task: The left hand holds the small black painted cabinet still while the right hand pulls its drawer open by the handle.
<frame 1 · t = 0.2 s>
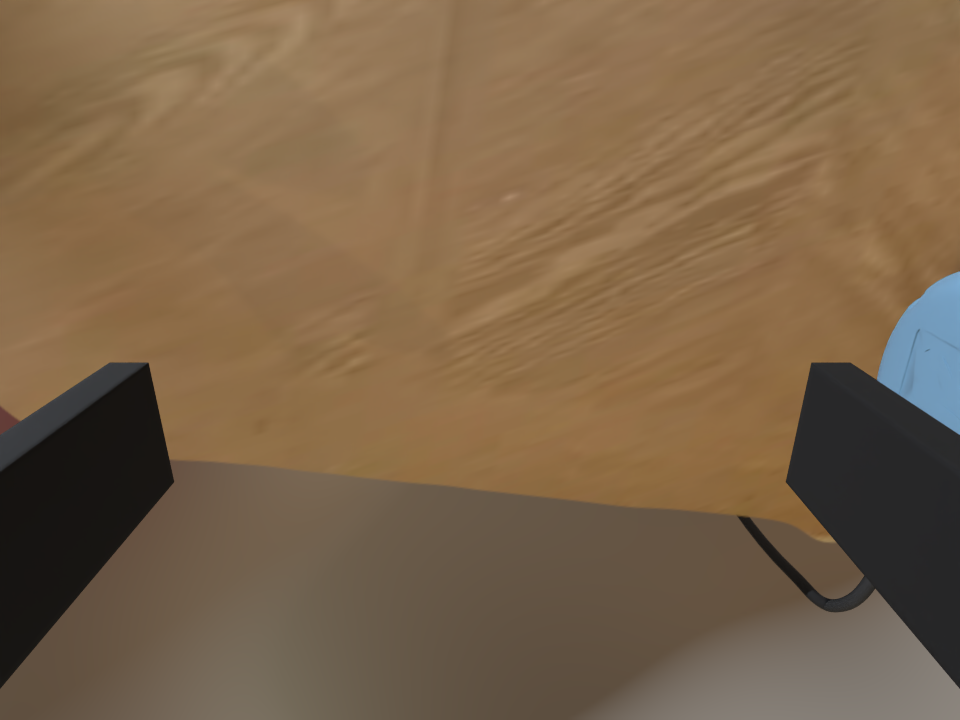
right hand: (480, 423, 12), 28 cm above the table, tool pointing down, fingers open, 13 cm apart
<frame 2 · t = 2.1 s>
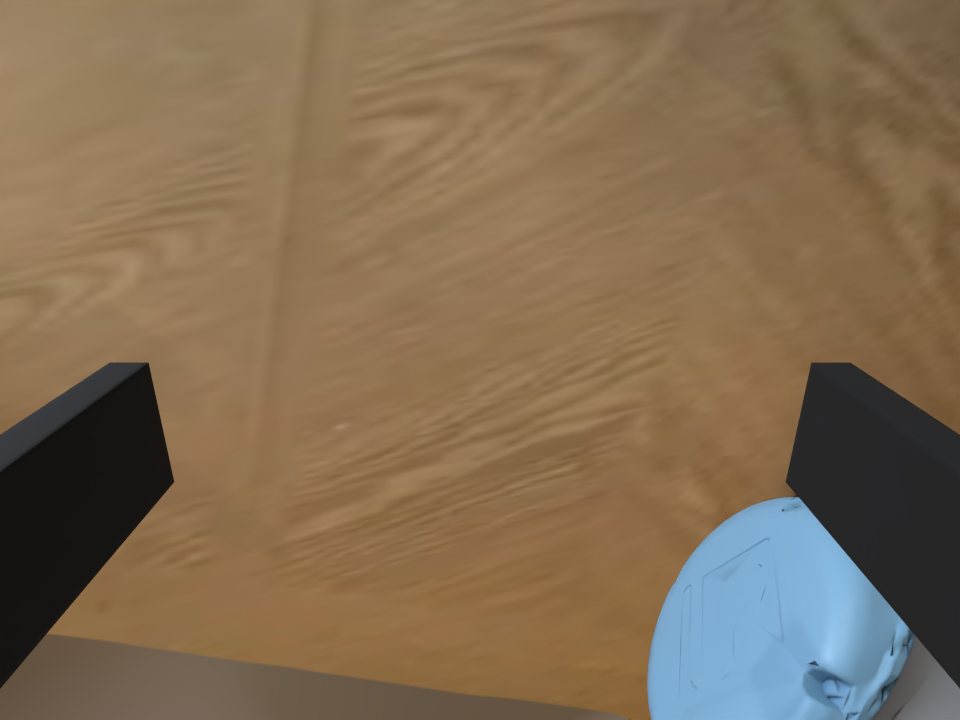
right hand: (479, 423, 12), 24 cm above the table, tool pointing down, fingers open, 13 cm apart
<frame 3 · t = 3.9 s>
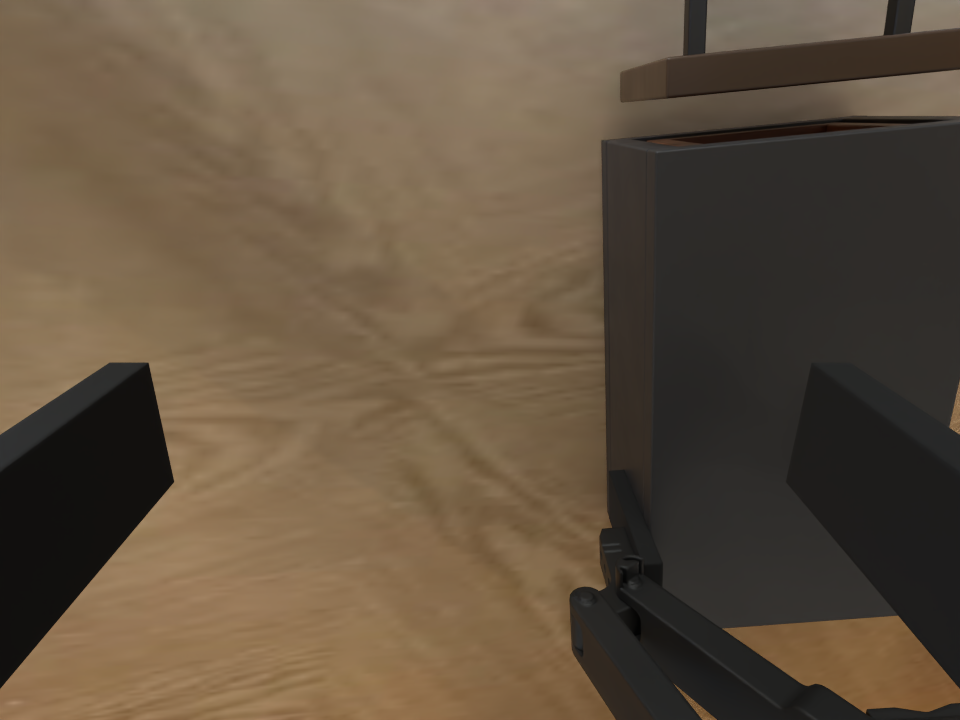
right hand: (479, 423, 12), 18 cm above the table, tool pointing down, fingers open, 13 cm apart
cabinet: (715, 338, 31), on the table, touching left hand
drawer: (763, 233, 25), point 4 cm above the table, slide at 1.5 cm
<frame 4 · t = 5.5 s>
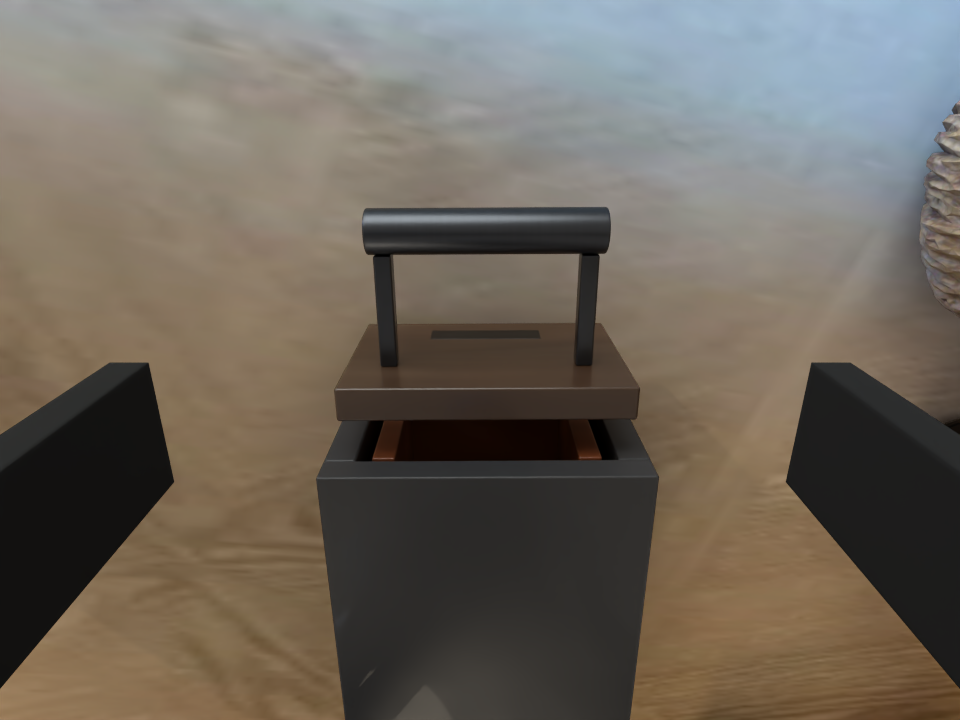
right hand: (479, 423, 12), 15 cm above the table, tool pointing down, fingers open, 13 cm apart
cabinet: (485, 549, 32), on the table, touching left hand
drawer: (486, 499, 25), point 4 cm above the table, slide at 1.5 cm
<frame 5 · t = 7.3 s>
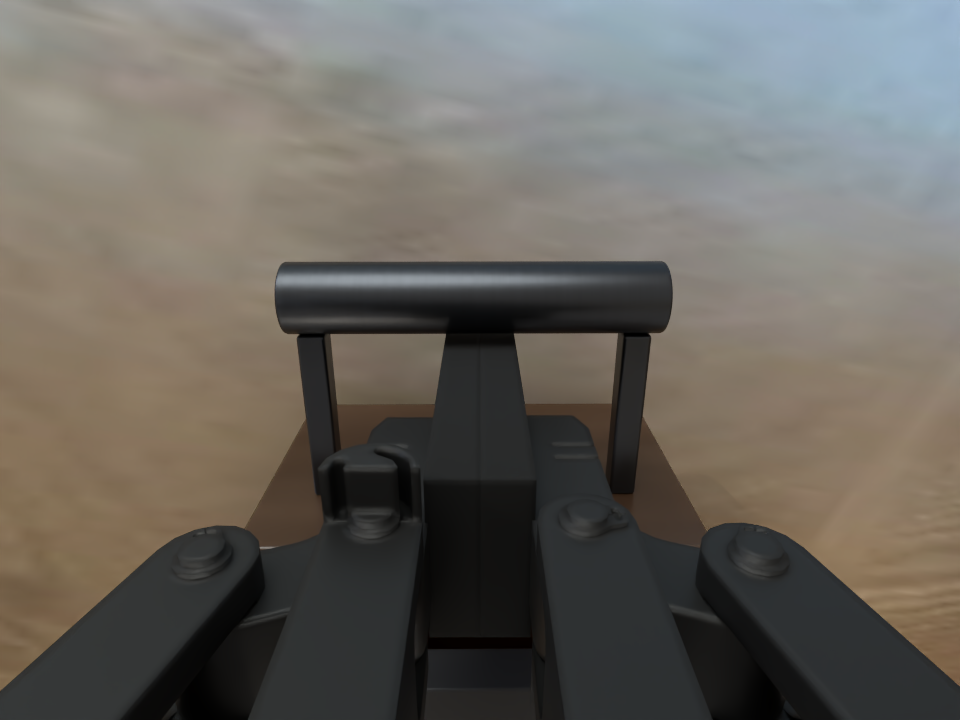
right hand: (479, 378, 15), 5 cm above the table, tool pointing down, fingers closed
cabinet: (475, 678, 25), on the table, touching left hand
drawer: (475, 653, 18), point 4 cm above the table, slide at 1.6 cm
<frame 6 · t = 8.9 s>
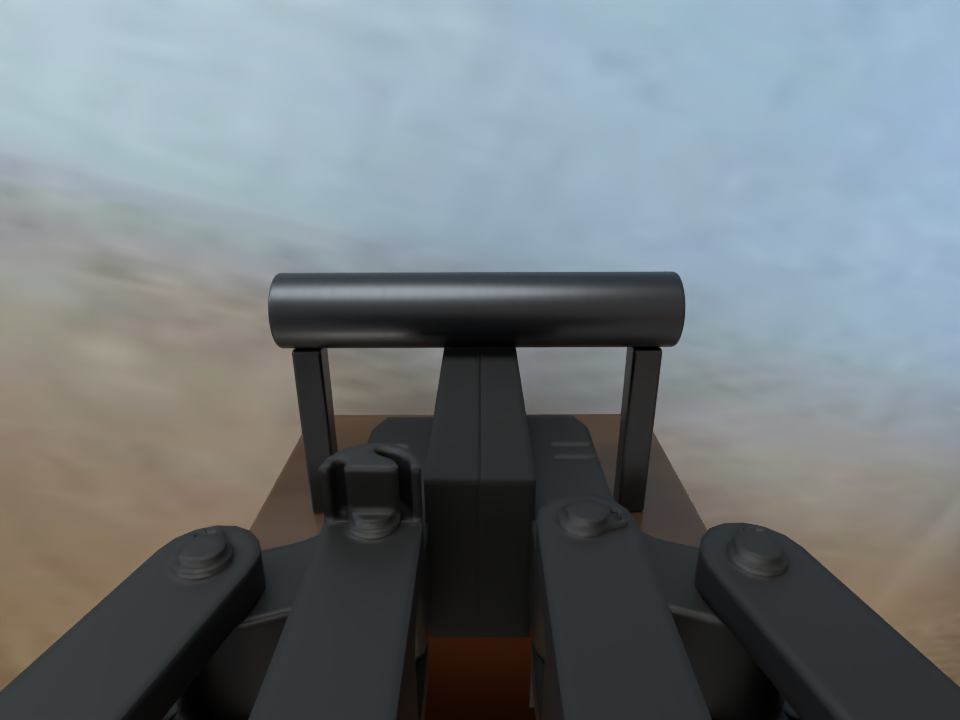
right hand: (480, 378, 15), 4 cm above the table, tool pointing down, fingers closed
drawer: (478, 671, 18), point 4 cm above the table, slide at 8.3 cm, touching right hand
when the left hand's fingers open (4 cm above the table, at t = 10.9 s): cabinet stays where it is, on the table.
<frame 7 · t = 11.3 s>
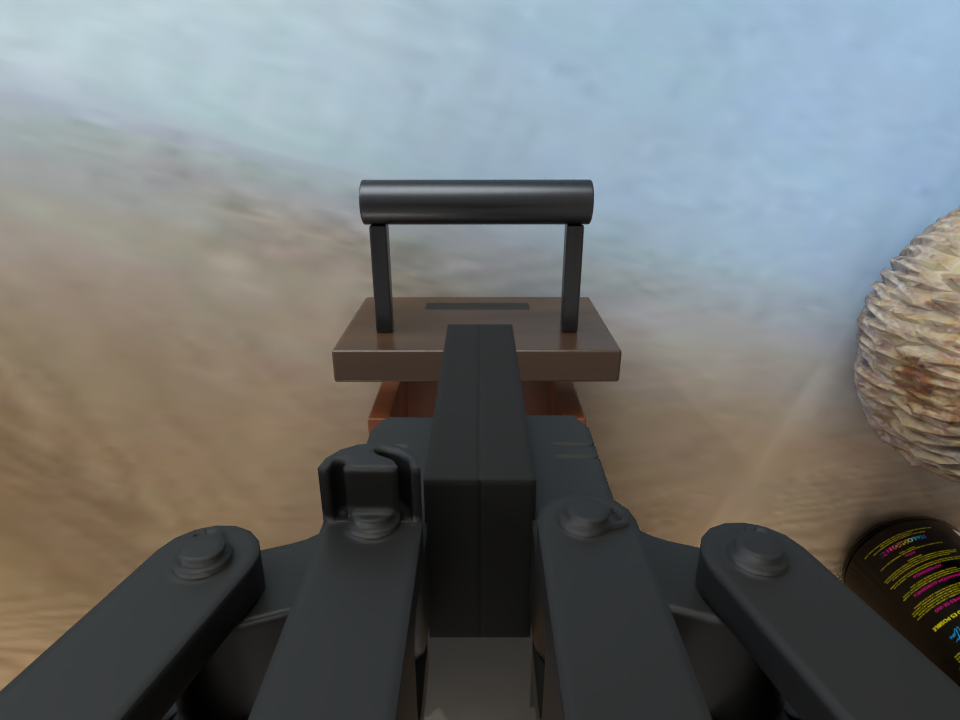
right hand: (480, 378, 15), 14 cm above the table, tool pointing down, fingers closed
cabinet: (478, 620, 36), on the table
drawer: (477, 465, 27), point 4 cm above the table, slide at 8.5 cm
seashell: (948, 310, 29), on the table
supplement container: (895, 557, 34), on the table
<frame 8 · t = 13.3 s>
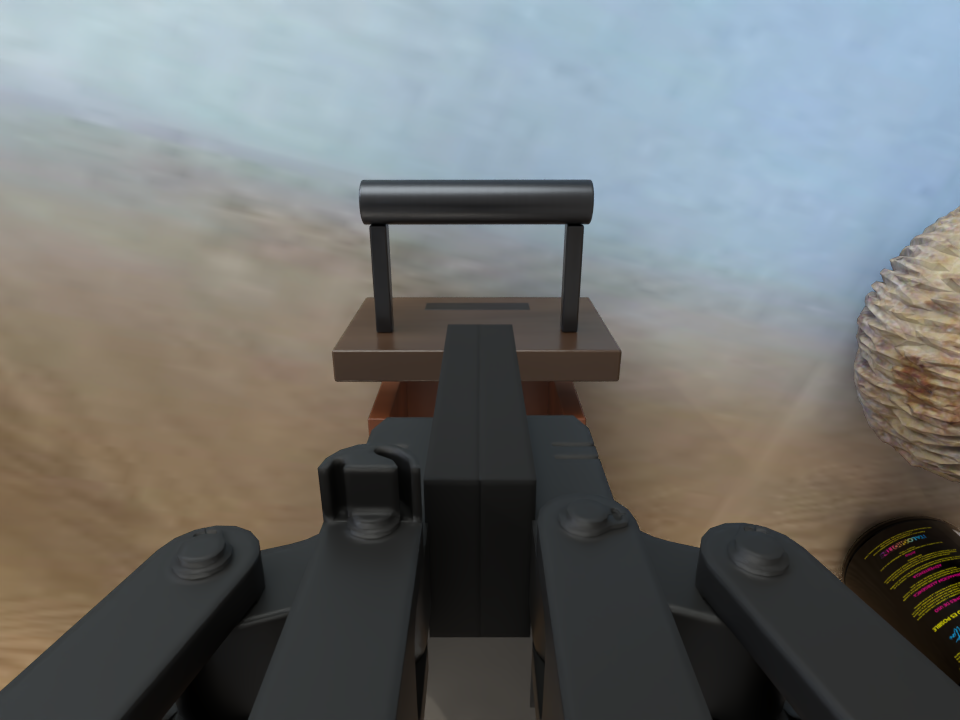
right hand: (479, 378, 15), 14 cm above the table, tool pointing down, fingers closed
cabinet: (478, 620, 36), on the table
drawer: (477, 465, 27), point 4 cm above the table, slide at 8.5 cm
seashell: (948, 310, 29), on the table
supplement container: (895, 557, 34), on the table
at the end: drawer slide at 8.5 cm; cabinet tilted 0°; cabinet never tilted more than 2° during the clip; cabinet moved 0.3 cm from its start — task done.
